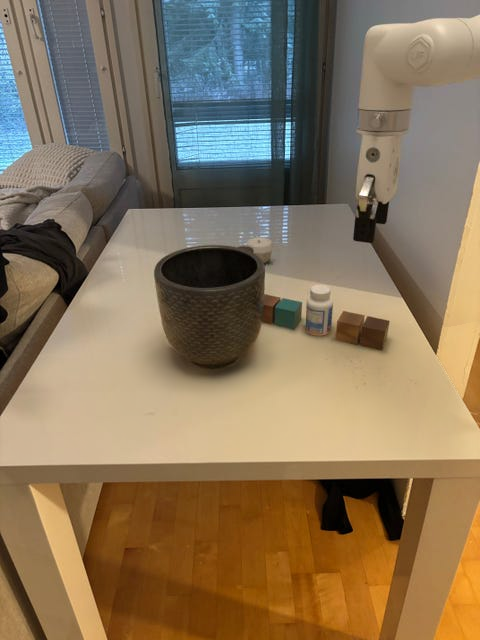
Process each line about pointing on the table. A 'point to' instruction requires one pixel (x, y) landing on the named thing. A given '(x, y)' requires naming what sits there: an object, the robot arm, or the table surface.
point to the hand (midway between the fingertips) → (370, 231)
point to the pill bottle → (319, 310)
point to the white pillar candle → (261, 247)
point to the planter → (211, 302)
